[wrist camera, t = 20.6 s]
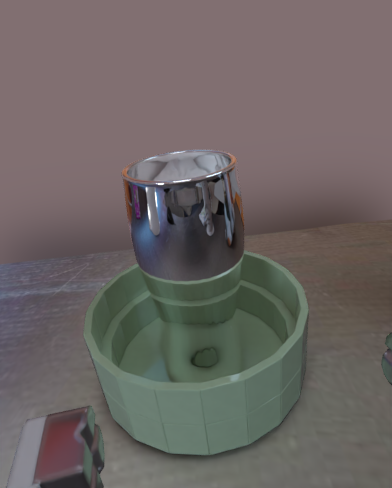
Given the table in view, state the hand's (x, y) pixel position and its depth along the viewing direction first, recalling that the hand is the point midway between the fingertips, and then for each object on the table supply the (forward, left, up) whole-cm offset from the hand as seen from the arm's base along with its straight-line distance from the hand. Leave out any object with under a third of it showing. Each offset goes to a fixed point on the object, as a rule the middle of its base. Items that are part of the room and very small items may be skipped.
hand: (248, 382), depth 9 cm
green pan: (0, +13, -13) cm, 18 cm away
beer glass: (+1, +13, -13) cm, 18 cm away
